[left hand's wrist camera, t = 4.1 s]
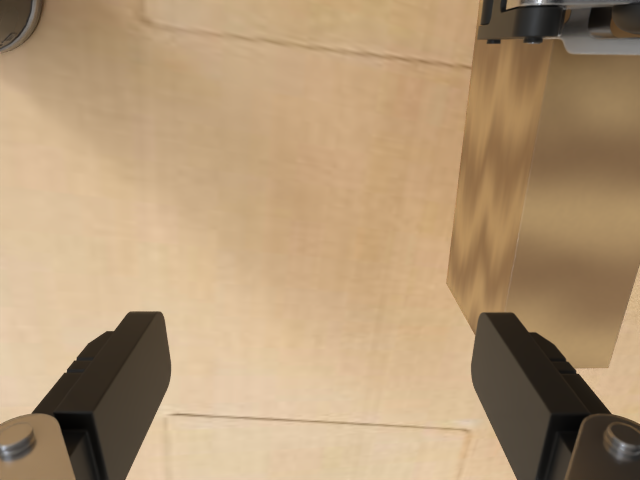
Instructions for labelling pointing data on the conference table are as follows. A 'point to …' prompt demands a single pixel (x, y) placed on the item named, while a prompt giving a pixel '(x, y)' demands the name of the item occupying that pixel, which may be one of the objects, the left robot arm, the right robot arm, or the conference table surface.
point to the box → (550, 193)
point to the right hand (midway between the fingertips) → (578, 12)
